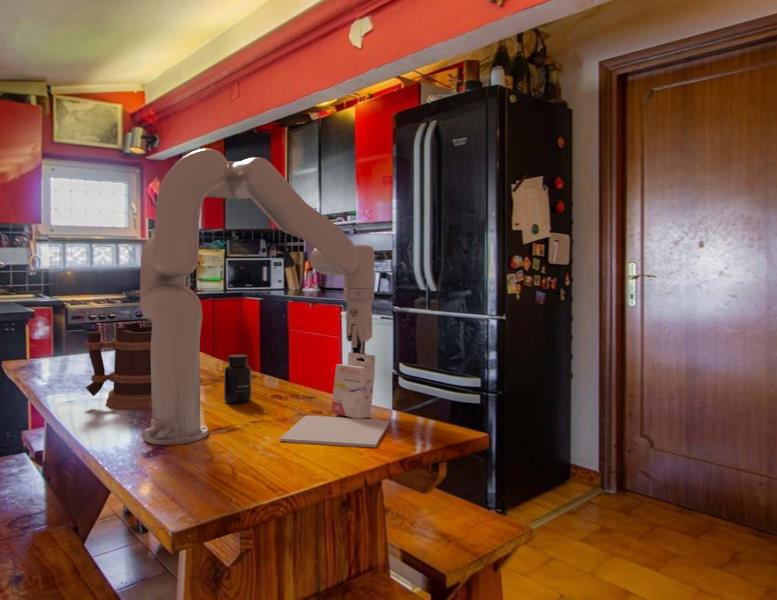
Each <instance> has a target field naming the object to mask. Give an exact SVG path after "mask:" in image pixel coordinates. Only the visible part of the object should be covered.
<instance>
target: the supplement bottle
mask: <svg viewBox="0 0 777 600" xmlns="http://www.w3.org/2000/svg"><path fill="white" fill-rule="evenodd" d="M227 359H228V360H227V363H228V365H227V366H225V368H224V373H223V374H224V375H223V381H224V383H223V397H224V398H223V399H224V400H223V402H225V404H230V405H231V404H232V405H238V404H239V405H240V404H246V403H249V402H250V401H252V400H251V399H252V368H251V367H250V366H249V365H248V354H230V355H228V358H227Z"/></svg>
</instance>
